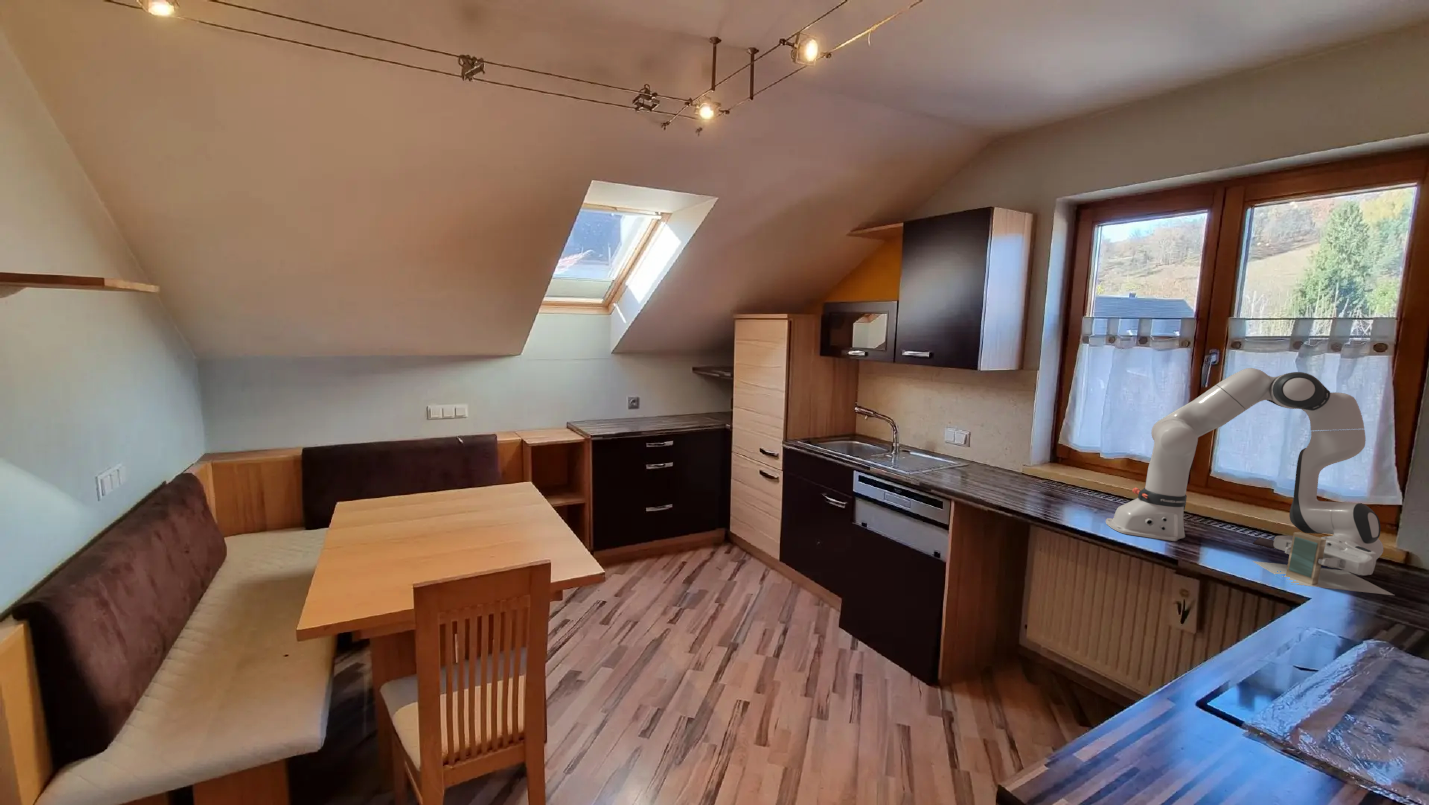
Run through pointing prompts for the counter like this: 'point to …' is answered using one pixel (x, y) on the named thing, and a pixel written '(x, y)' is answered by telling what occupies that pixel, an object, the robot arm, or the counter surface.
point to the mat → (1330, 579)
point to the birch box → (1305, 558)
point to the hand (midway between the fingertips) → (1303, 556)
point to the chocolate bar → (1264, 542)
